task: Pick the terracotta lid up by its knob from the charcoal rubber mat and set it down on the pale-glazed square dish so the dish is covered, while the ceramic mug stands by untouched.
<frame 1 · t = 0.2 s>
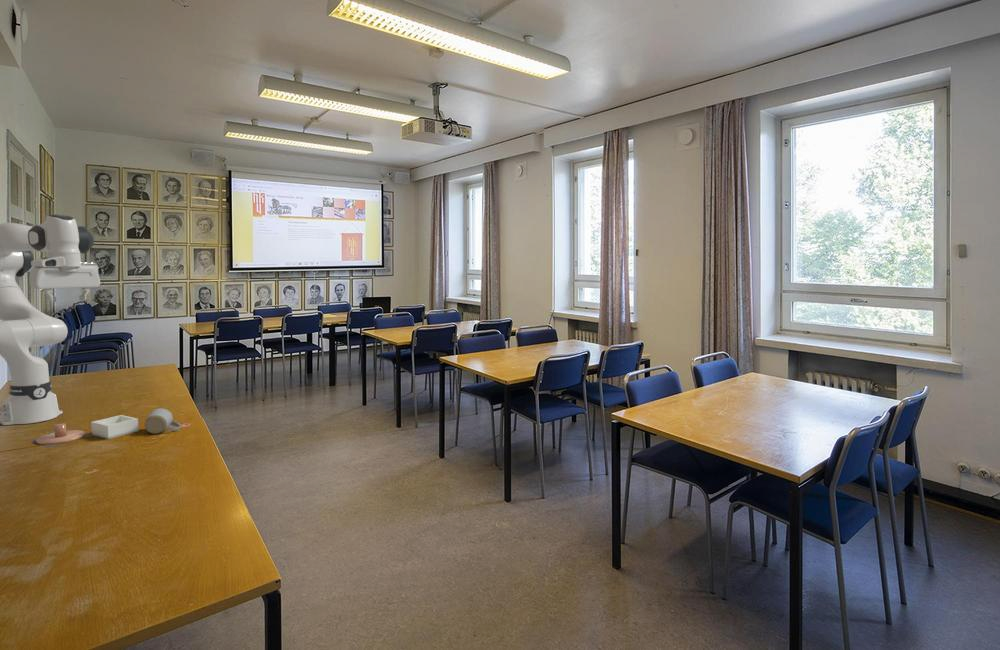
hand: (68, 301, 187), 47 cm above the table, fingers open, 8 cm apart
dish: (115, 433, 190), on the table
ceramic mug: (163, 431, 195), on the table
mat: (61, 439, 184), on the table
lid: (61, 438, 184), resting on mat
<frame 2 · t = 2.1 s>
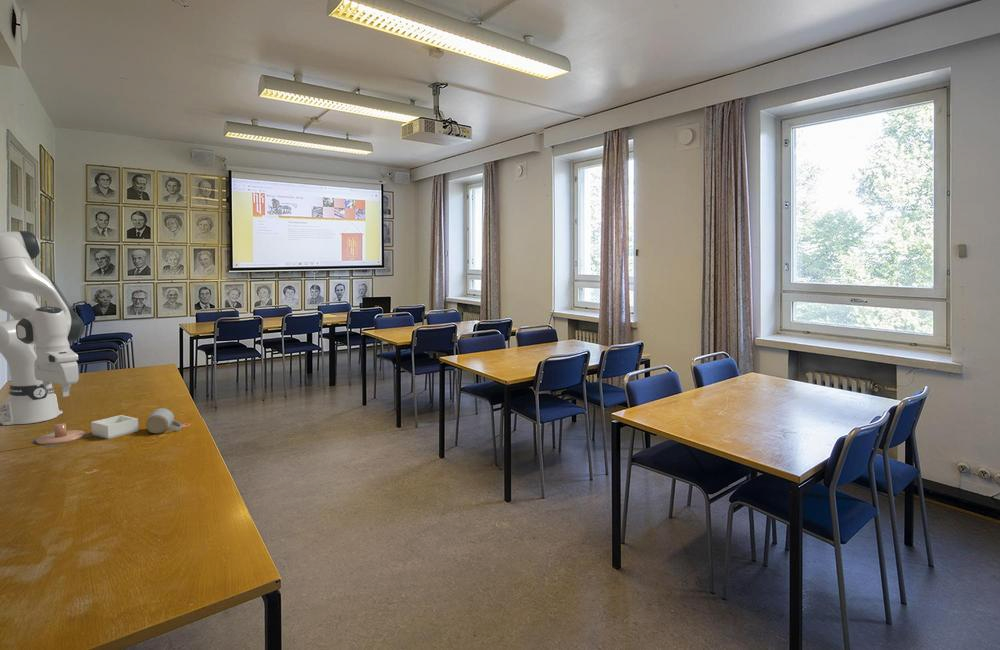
hand: (57, 394, 182), 16 cm above the table, fingers open, 8 cm apart
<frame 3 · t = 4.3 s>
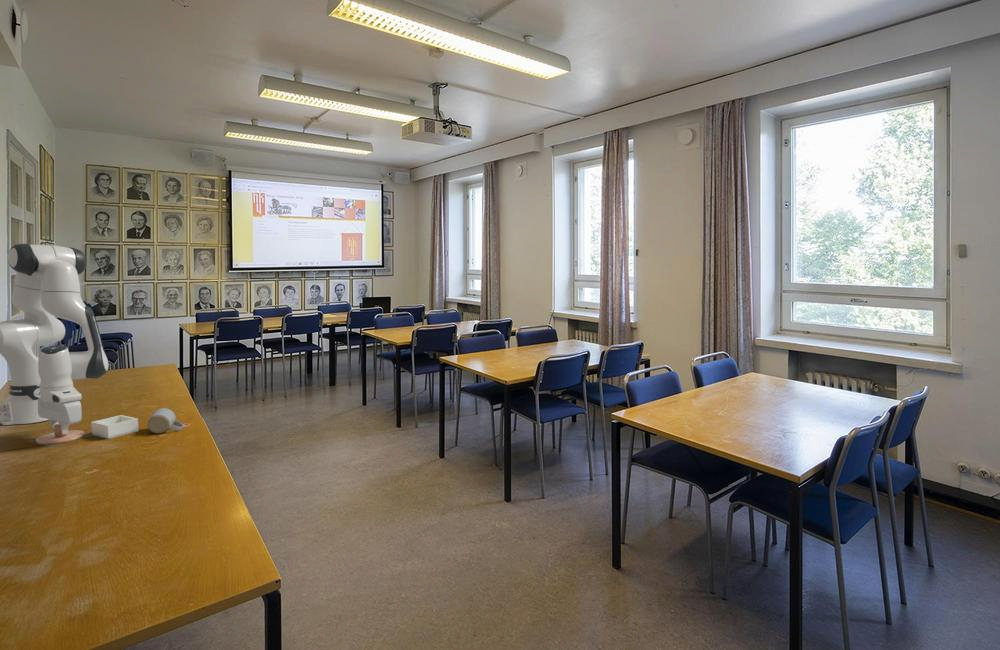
hand: (60, 432, 183), 2 cm above the table, fingers closed on lid, 3 cm apart
lid: (60, 438, 184), resting on mat, touching gripper
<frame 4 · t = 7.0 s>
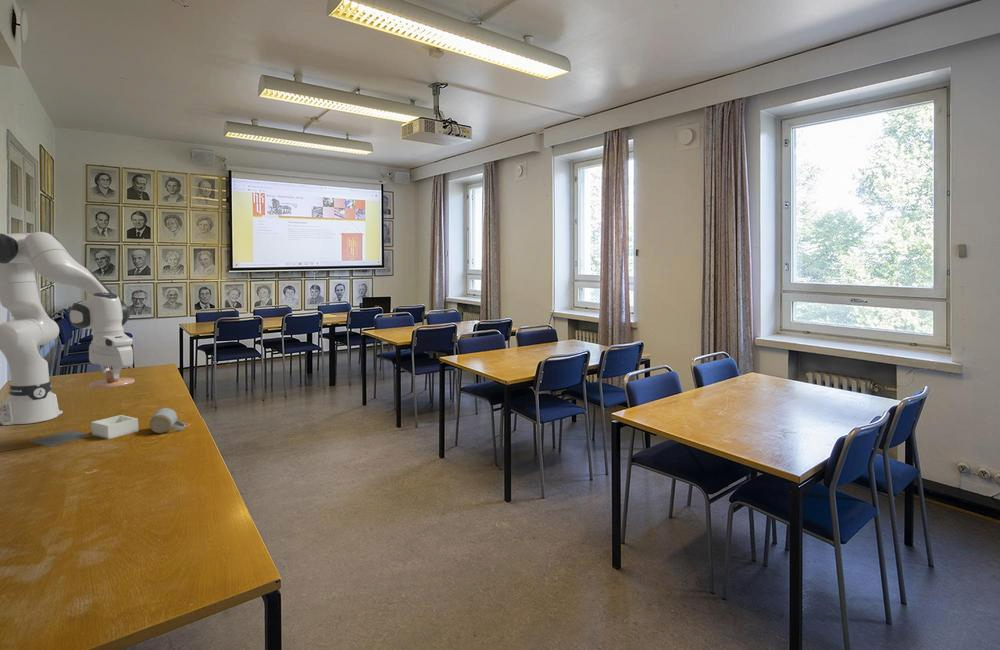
hand: (111, 377, 188), 20 cm above the table, fingers closed on lid, 3 cm apart
lid: (112, 384, 188), point 18 cm above the table, touching gripper
when the fingers open (8 cm above the table, at t = 10.0 s): lid stays where it is, resting on dish.
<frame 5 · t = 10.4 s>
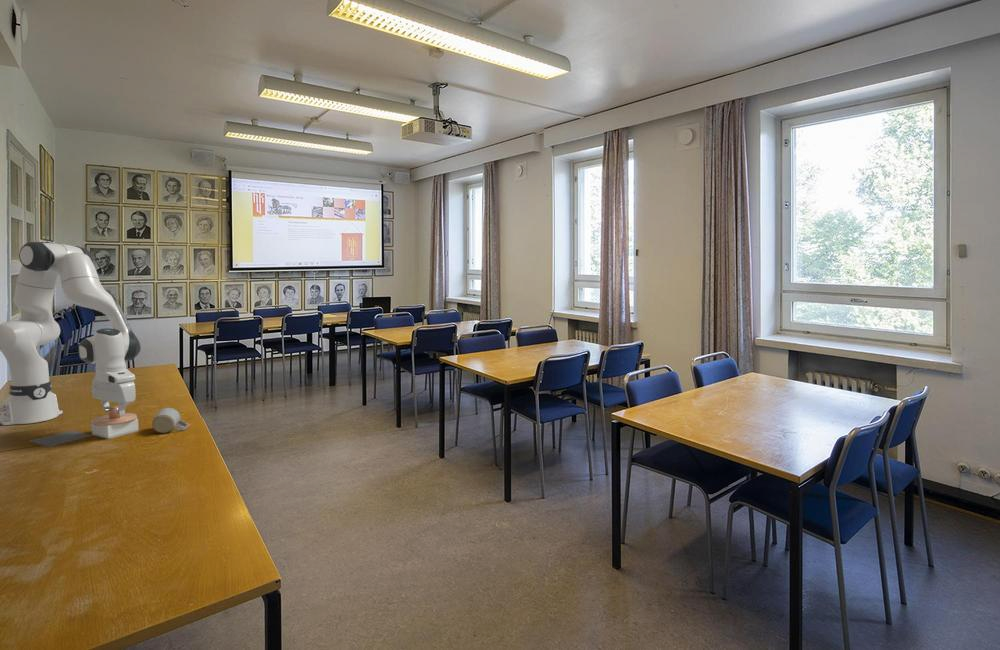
hand: (114, 412, 189), 8 cm above the table, fingers open, 7 cm apart
lid: (114, 420, 190), point 5 cm above the table, touching dish
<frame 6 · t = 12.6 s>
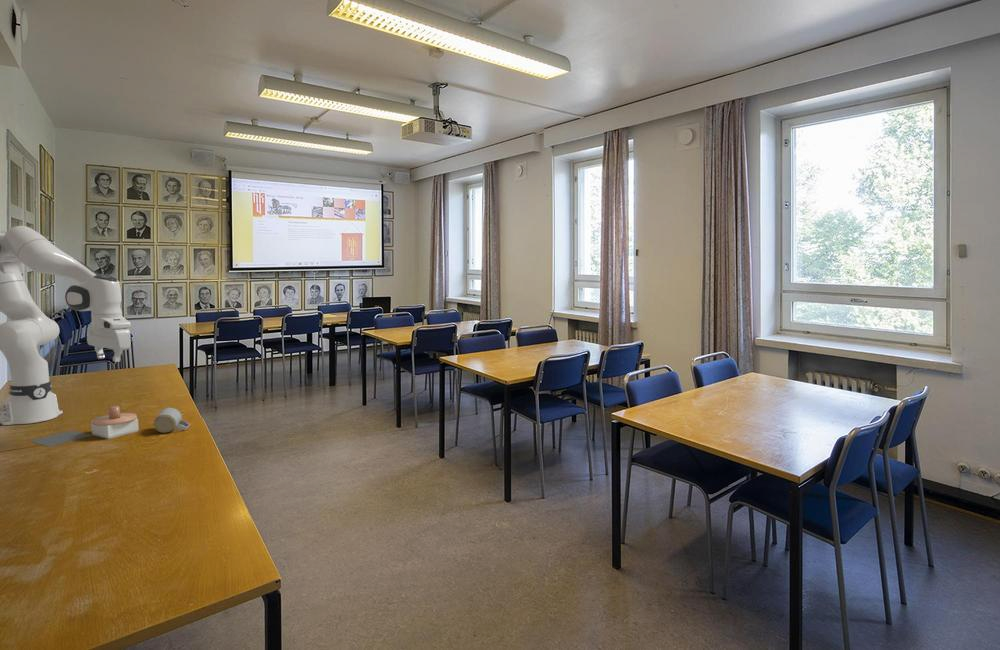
hand: (108, 360, 190), 26 cm above the table, fingers open, 8 cm apart
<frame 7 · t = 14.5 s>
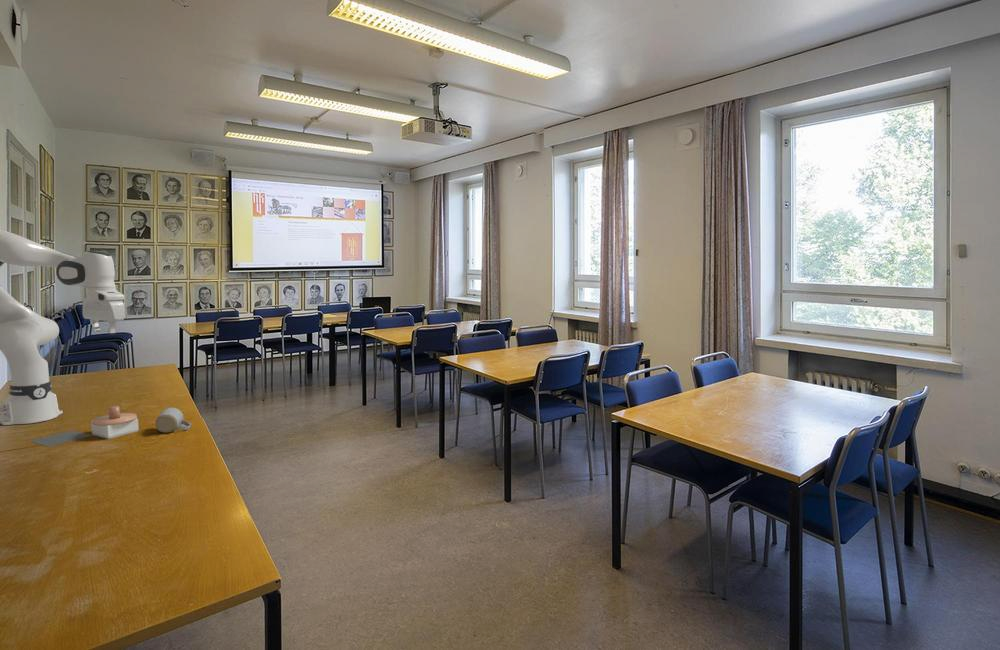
hand: (104, 332, 198), 35 cm above the table, fingers open, 8 cm apart
at the end: lid 0.1 cm off-centre on the dish, point 5.0 cm above the dish's base; lid tilted 0°; the gripper is holding nothing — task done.
